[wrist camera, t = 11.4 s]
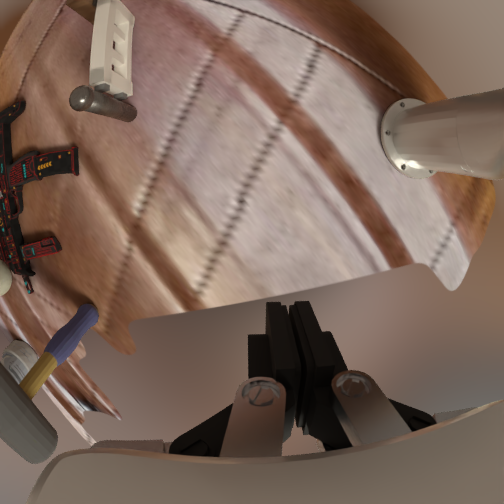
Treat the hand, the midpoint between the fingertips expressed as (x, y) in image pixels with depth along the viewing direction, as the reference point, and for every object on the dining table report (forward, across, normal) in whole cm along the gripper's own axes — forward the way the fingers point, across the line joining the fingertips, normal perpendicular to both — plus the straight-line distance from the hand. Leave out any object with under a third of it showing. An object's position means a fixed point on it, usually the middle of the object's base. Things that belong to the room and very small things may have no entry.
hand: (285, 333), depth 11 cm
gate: (+28, +19, -24) cm, 41 cm away
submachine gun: (+30, +39, -5) cm, 49 cm away
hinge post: (+29, +18, -15) cm, 37 cm away
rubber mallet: (+29, +29, +16) cm, 44 cm away
